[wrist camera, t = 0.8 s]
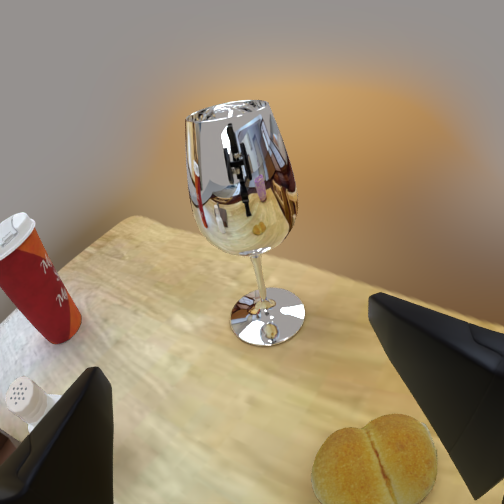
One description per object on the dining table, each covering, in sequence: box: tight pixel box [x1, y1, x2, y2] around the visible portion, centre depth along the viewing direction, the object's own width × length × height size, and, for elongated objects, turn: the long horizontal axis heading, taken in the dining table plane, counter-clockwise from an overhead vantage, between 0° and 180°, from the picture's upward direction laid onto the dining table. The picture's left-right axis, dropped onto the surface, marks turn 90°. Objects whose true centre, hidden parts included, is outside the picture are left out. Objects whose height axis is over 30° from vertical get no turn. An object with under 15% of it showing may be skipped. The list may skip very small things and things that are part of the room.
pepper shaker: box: [6, 376, 62, 433], centre depth 18 cm, size 4×4×10 cm
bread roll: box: [311, 414, 437, 504], centre depth 15 cm, size 8×9×4 cm
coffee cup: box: [0, 212, 81, 344], centre depth 29 cm, size 8×8×15 cm
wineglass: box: [185, 100, 305, 346], centre depth 25 cm, size 8×8×20 cm
